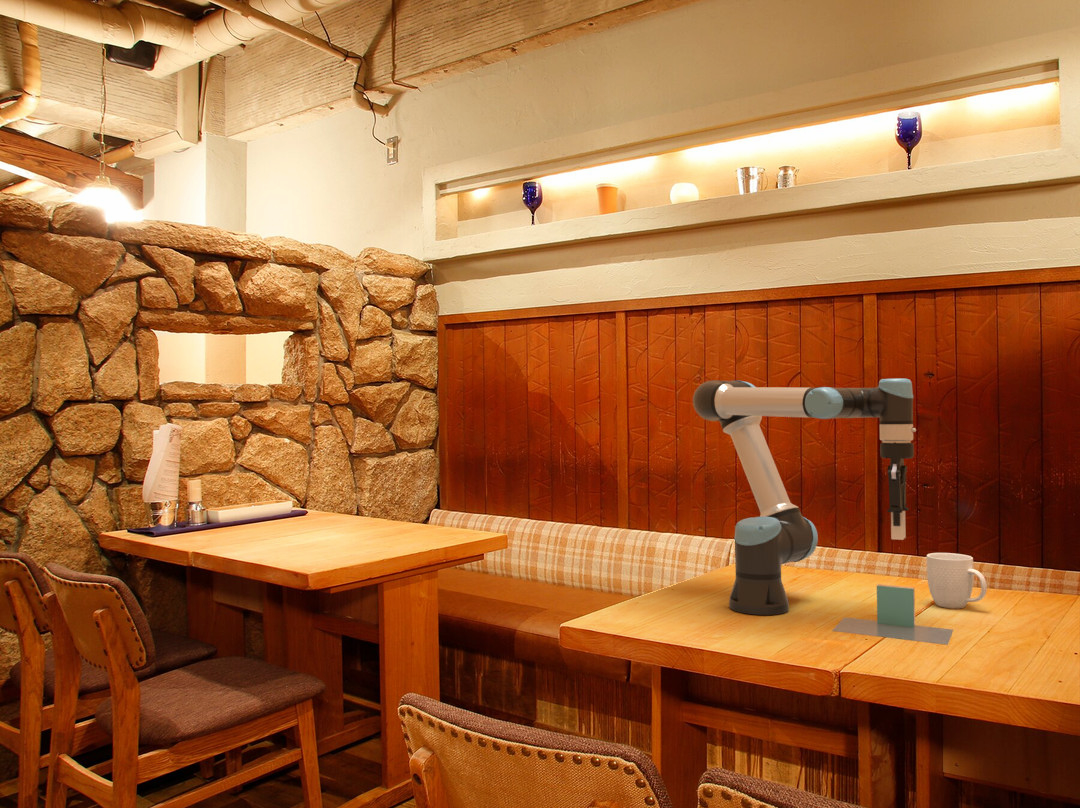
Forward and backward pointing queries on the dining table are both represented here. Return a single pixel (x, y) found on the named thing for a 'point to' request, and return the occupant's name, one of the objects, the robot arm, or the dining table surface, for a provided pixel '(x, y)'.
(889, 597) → the tile
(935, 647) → the dining table surface
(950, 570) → the mug
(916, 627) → the slate board
